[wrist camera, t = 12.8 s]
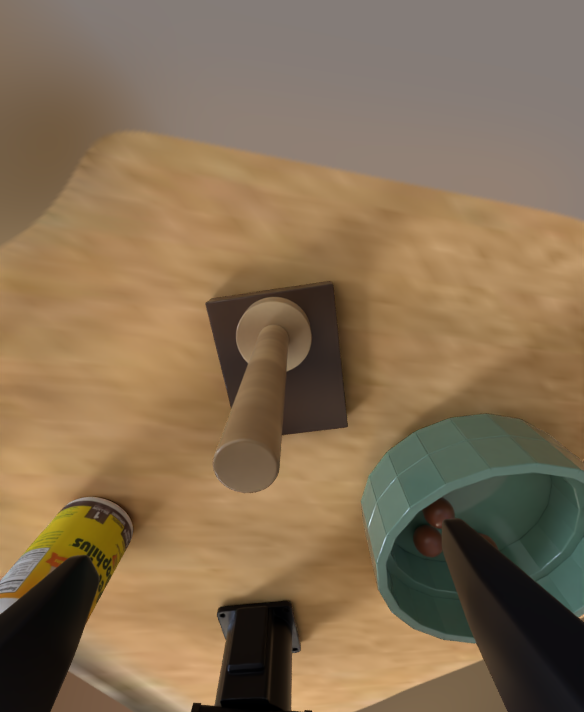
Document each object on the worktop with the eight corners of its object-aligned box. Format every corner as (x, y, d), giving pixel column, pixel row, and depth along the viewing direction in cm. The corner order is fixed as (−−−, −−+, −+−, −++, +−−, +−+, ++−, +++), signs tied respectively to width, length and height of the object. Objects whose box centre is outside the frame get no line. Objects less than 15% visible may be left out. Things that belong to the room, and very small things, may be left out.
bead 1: (433, 530, 23) (457, 537, 21) (412, 516, 22) (436, 523, 20) (440, 502, 23) (464, 507, 22) (420, 488, 23) (444, 492, 21)
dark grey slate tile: (345, 417, 21) (347, 427, 20) (241, 429, 22) (238, 440, 21) (330, 280, 18) (333, 283, 17) (210, 298, 19) (204, 302, 18)
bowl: (546, 553, 26) (609, 634, 20) (366, 569, 27) (383, 651, 21) (575, 395, 21) (667, 449, 15) (352, 421, 22) (369, 481, 16)
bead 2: (448, 528, 22) (451, 561, 22) (431, 521, 24) (433, 551, 24) (422, 529, 22) (424, 562, 21) (406, 521, 24) (408, 552, 23)
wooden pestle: (314, 360, 19) (337, 523, 8) (246, 369, 19) (184, 537, 8) (306, 292, 17) (320, 382, 7) (233, 301, 18) (139, 403, 7)
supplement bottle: (149, 536, 26) (61, 719, 16) (89, 553, 26) (-30, 736, 17) (112, 483, 24) (-13, 654, 14) (48, 503, 24) (-111, 677, 15)
